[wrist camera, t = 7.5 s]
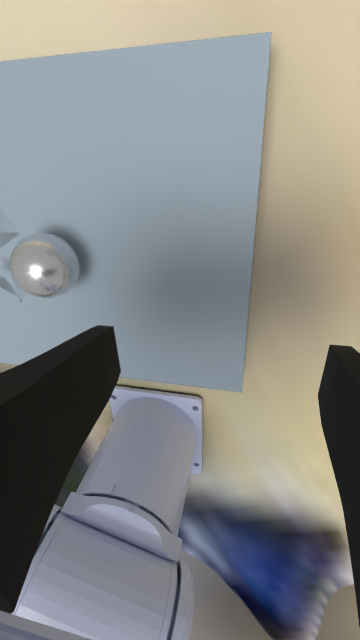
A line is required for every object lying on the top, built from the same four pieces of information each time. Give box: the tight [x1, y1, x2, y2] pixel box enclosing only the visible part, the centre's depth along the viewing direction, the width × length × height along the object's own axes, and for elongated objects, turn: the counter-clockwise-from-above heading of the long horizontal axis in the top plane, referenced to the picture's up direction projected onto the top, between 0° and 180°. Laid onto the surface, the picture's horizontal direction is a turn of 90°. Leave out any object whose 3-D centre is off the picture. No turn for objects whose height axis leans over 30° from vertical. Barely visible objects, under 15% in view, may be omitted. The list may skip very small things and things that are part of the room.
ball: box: [10, 233, 80, 298], centre depth 17 cm, size 4×4×4 cm
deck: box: [0, 32, 271, 393], centre depth 20 cm, size 26×18×2 cm
